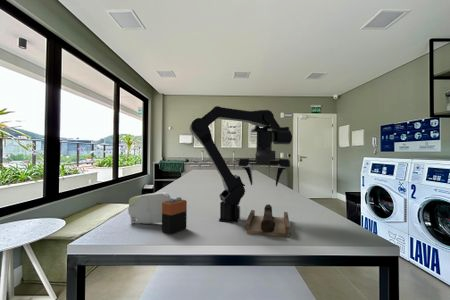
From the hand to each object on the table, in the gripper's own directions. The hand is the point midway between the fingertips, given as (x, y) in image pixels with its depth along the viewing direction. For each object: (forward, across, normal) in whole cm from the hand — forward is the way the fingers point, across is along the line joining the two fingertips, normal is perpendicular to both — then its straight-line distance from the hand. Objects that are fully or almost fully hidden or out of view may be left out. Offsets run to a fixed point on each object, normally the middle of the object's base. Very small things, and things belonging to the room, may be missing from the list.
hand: (263, 185), depth 86 cm
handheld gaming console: (+12, -37, -18) cm, 43 cm away
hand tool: (+11, +2, -11) cm, 15 cm away
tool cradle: (+12, +2, -10) cm, 16 cm away
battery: (+12, -26, -21) cm, 36 cm away
